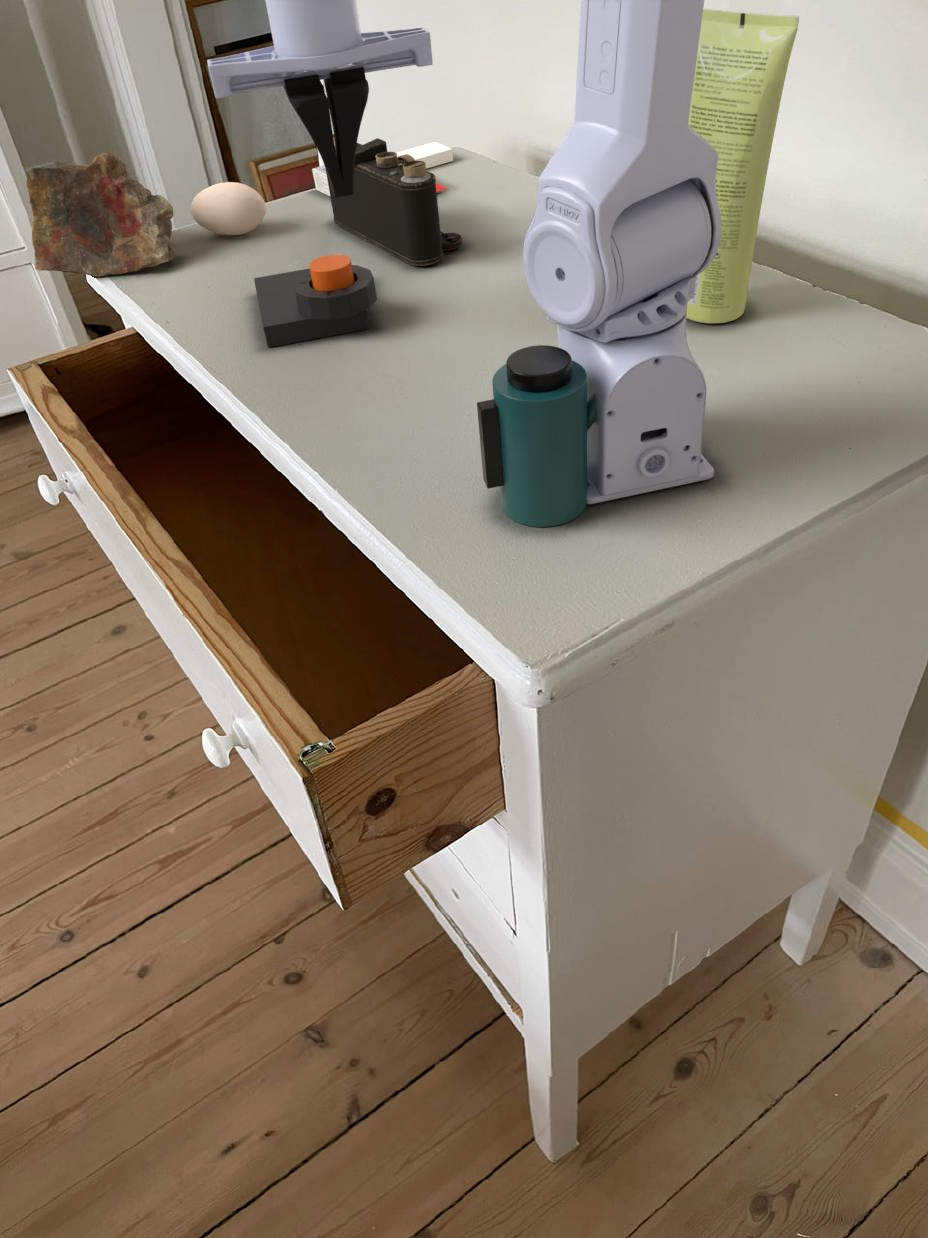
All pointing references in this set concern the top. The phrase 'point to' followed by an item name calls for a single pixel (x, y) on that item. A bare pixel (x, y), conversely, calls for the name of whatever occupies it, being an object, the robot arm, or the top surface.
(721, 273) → the tube
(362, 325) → the push button switch
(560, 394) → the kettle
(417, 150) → the eraser
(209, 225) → the egg
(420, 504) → the top surface
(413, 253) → the camera
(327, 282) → the switch button
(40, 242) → the rock
